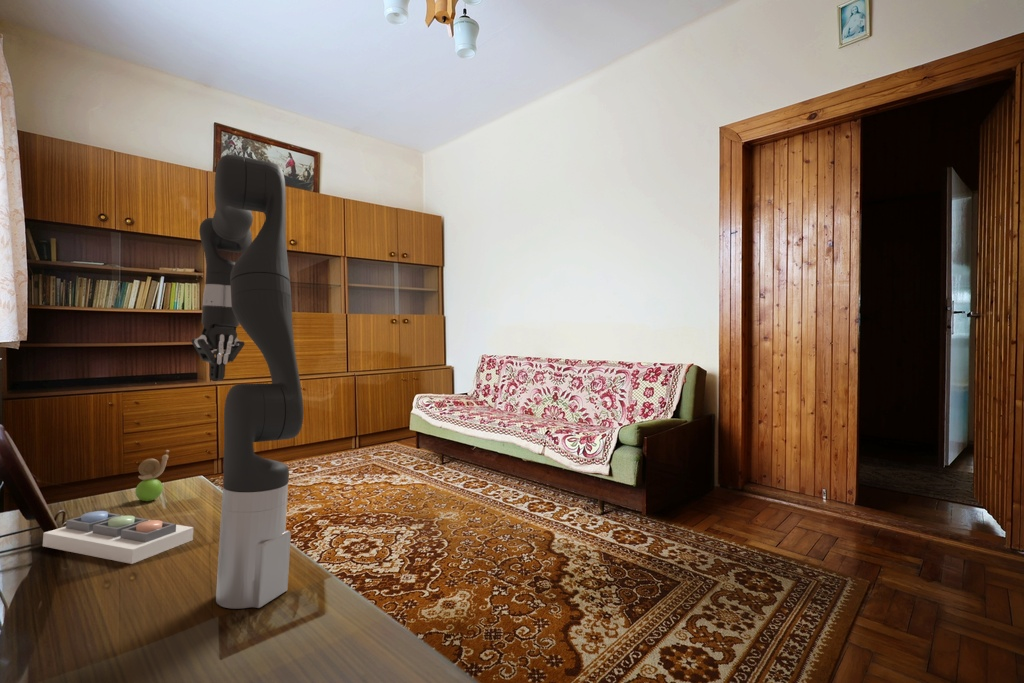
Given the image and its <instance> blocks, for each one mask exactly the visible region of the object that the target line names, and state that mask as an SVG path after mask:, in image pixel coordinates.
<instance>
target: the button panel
mask: <svg viewBox="0 0 1024 683" xmlns="http://www.w3.org/2000/svg"><path fill="white" fill-rule="evenodd" d="M118 516H123V515H122V514H118V513H113V512H108V518H106V519H103V520H99V521H96V522H92V523H87V522H82V521H81V516H78V517H74V518H70V519H67V520H66V521H65V526H62V527H59V528H56V529H53V530H48V531H44V532H43V537H42V547H43V548H44V547H45V548H50V549H55V550H59V551H64V552H69V553H70V552H71V553H75V554H80V555H85V556H90V557H95V558H99V559H100V558H101V559H104V560H112V561H116V562H120V563H126V564H131V565H133V564H135V563H138V562H141V561H143V560H145V559H148V558H151V557H153V556H156V555H159V554H160V553H161V554H162V553H164V552H166V551H168V550H171V549H173V548H177V547H179V546H181V545H184V544H186V543H189V542H191V541H193V540H194V526H187V525H183V524H176V523H174V522H173V523H172V522H167V521H162V528H159V529H157V530H154V531H151V532H148V533H145V532H139V531H136V525H137V524H138V523H141V522H145V521H150V520H151V519H148V518H142V517H136V516H134V517H135V521H134V523H132V524H129V525H125V526H122V527H119V528H116V527H110V526H108V520H109V519H111V518H114V517H118Z"/></svg>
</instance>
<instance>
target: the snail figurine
mask: <svg viewBox="0 0 1024 683" xmlns="http://www.w3.org/2000/svg"><path fill="white" fill-rule="evenodd" d="M165 452H166V454H163V455H162V457H161V462H160V461H159V460H157V459H155V458H146V459H145V460H142V461H141V463H140V464H139V465H138V468H137V470H138V473H139V474H140V475H138V479H140V480H142V481H140V482H139V483H138V484H137V486H136V487H135V496H136V497H137V499H139V500H140V501H143V502H151V501H154V500H156V499H157V498H158V497H159V496H160V495H161V494H162V493H163V490H164V488H163V484H162V482H161V481H160V480H159V479H157V478H158V477H160V476H161V475H163V473H164V471H165V469H166V465H167V463H168V462H167V461H168V460H169V454H168V453H169V452H170V450H168V449H166V450H165Z"/></svg>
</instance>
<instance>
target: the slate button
mask: <svg viewBox="0 0 1024 683" xmlns="http://www.w3.org/2000/svg"><path fill="white" fill-rule="evenodd" d="M108 513H109V511H106V510H96V511H89V512H85V513H83V514H82V515H81V516H80V517H81V521H82V522H87V523H92V522H96V521H99V520H103V519H106V518H108Z"/></svg>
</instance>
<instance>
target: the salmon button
mask: <svg viewBox="0 0 1024 683" xmlns="http://www.w3.org/2000/svg"><path fill="white" fill-rule="evenodd" d="M149 520H150V521H145V522H141V523H138V524H137V525H136V531H139V532H145V533H148V532H151V531H154V530H157V529H159V528H162V522H163V520H157V519H153V520H152V519H149Z"/></svg>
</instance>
